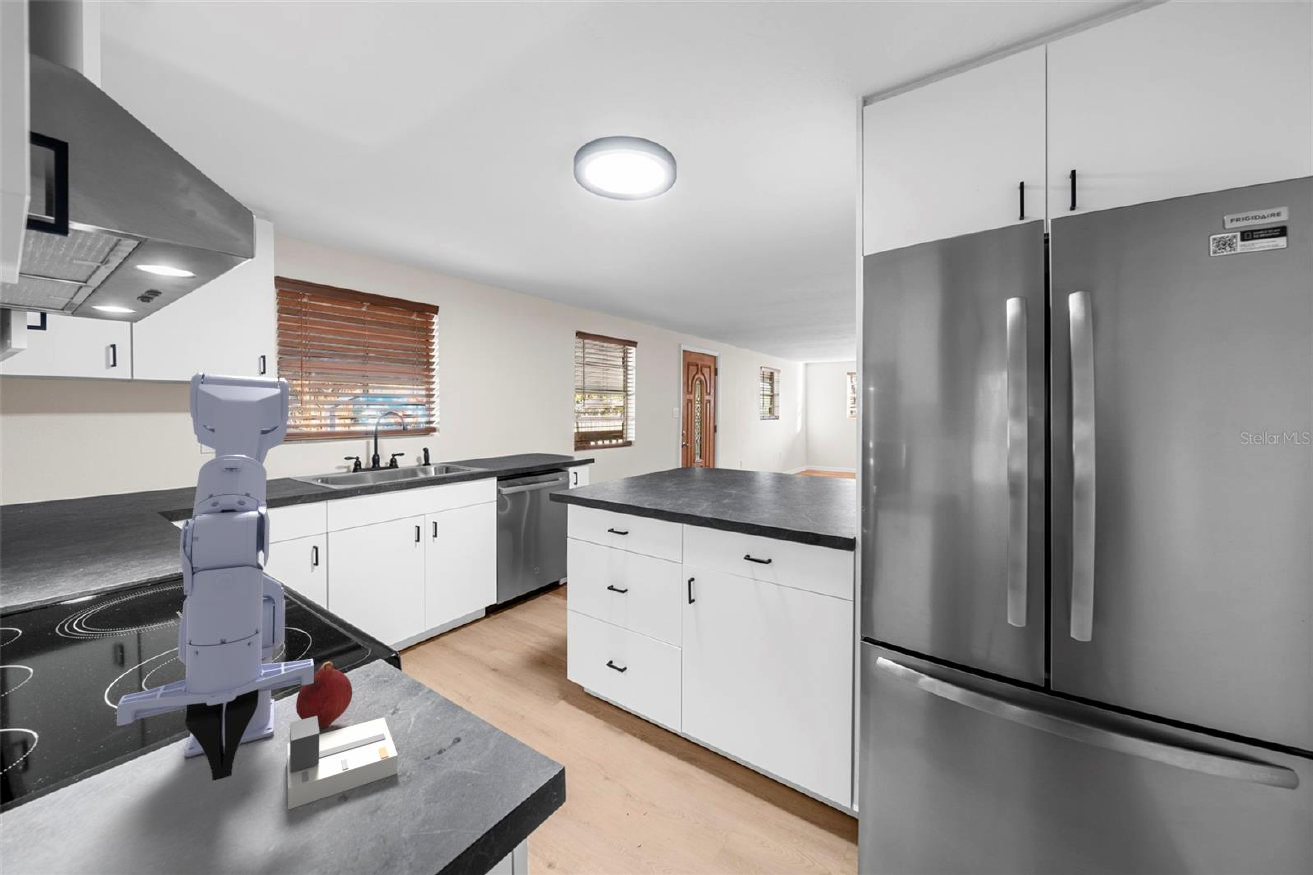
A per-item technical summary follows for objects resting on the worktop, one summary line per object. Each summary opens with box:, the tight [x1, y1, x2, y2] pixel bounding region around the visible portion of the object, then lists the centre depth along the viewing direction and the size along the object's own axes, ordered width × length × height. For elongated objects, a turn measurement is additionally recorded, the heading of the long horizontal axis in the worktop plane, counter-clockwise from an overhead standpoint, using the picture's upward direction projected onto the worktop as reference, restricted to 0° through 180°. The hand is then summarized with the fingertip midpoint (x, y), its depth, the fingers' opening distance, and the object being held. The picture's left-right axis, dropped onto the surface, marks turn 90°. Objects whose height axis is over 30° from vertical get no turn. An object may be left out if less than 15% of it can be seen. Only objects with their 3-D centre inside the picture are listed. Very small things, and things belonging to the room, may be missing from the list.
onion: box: [295, 661, 353, 729], centre depth 64 cm, size 6×6×8 cm
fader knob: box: [289, 716, 320, 772], centre depth 55 cm, size 4×2×3 cm, turn 36°
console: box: [286, 717, 399, 810], centre depth 57 cm, size 9×10×2 cm
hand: (222, 773), depth 51 cm, fingers closed
